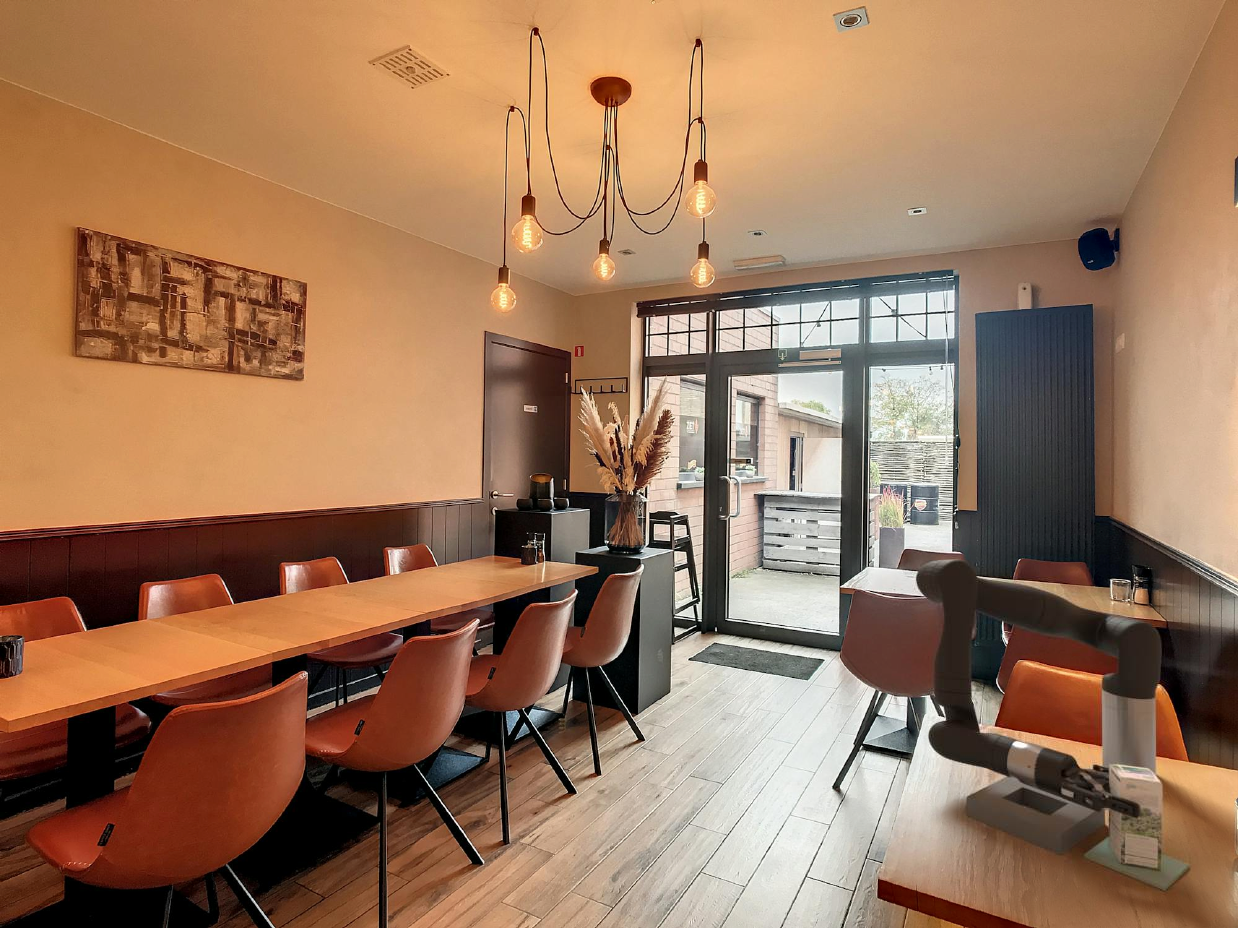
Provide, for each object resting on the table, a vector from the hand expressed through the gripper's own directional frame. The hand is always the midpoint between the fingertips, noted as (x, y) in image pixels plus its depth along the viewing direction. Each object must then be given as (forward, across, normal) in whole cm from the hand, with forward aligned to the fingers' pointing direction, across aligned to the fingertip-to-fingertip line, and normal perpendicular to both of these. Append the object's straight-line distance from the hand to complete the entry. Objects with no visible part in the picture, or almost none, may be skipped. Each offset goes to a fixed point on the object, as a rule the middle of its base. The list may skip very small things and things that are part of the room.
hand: (1149, 804), depth 111 cm
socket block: (-18, +1, +10) cm, 21 cm away
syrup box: (-2, 0, +10) cm, 10 cm away
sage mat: (-2, 0, +10) cm, 10 cm away
